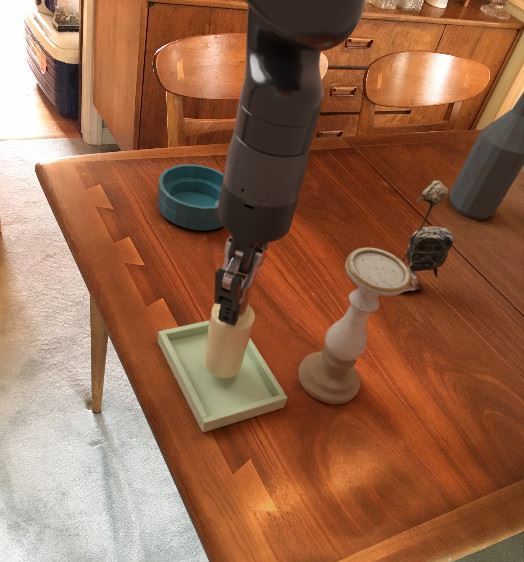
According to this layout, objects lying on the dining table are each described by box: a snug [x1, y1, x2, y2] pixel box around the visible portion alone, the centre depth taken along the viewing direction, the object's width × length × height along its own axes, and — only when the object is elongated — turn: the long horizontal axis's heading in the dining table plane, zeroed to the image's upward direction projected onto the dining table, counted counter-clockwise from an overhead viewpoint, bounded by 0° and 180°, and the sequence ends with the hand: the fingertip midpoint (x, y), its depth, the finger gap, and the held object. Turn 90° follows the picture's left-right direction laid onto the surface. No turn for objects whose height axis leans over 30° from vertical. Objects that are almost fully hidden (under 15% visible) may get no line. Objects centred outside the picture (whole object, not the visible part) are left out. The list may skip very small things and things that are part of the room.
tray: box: [157, 319, 288, 433], centre depth 73 cm, size 16×12×2 cm
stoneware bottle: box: [203, 272, 256, 378], centre depth 67 cm, size 5×5×14 cm
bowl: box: [156, 163, 224, 231], centre depth 96 cm, size 13×13×5 cm
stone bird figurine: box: [401, 179, 457, 292], centre depth 89 cm, size 8×11×20 cm
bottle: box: [448, 91, 524, 221], centre depth 108 cm, size 10×10×30 cm
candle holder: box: [297, 246, 410, 405], centre depth 70 cm, size 9×9×20 cm
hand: (233, 309), depth 65 cm, fingers closed on stoneware bottle, 4 cm apart
